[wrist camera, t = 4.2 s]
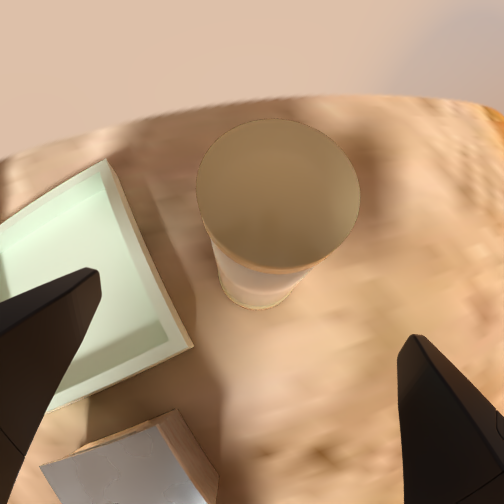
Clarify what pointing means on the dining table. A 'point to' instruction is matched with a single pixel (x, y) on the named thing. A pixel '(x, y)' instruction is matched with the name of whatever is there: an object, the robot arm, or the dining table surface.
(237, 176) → the fuse
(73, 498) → the box
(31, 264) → the tray
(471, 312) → the dining table surface
